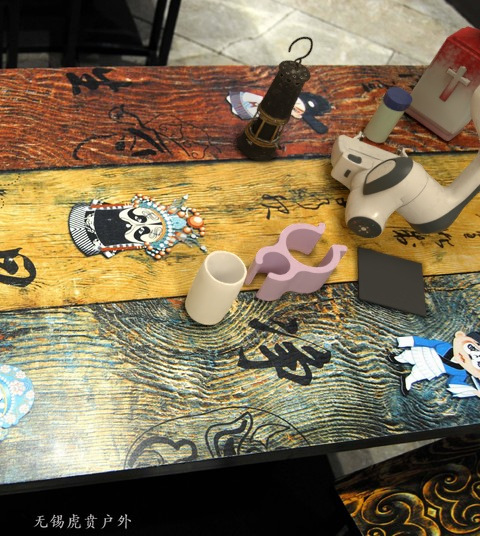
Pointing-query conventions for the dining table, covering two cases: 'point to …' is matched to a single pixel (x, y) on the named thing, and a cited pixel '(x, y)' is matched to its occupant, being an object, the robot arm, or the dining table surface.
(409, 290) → the mat
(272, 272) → the clip
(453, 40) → the red white cross box
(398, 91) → the lid
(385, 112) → the jar
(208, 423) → the dining table surface
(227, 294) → the cup
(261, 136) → the lantern
